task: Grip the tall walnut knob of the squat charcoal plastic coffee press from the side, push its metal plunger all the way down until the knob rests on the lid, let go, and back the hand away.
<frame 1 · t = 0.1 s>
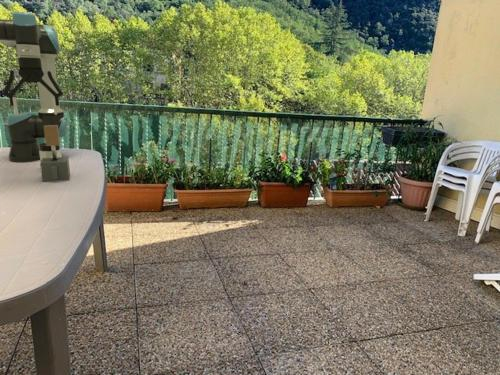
hand: (36, 114, 151), 28 cm above the table, tool pointing down, fingers open, 13 cm apart
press: (56, 177, 167), on the table
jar: (52, 169, 180), on the table
plunger: (52, 143, 162), point 15 cm above the table, slide at 6.5 cm
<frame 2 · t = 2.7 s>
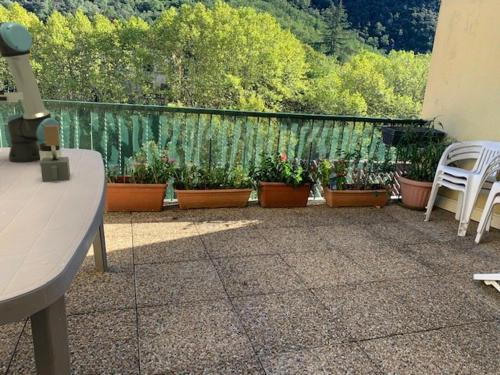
hand: (20, 97, 153), 34 cm above the table, tool horizontal, fingers open, 13 cm apart
nothing on the table moved.
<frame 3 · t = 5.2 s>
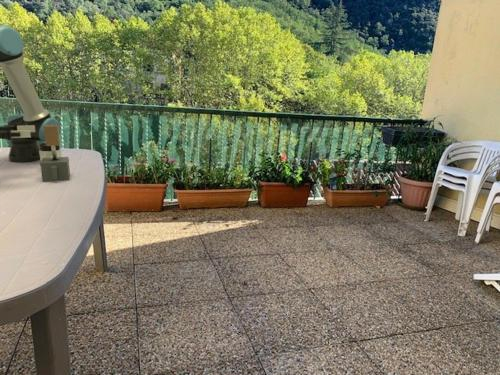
hand: (32, 131, 158), 20 cm above the table, tool horizontal, fingers open, 13 cm apart
nothing on the table moved.
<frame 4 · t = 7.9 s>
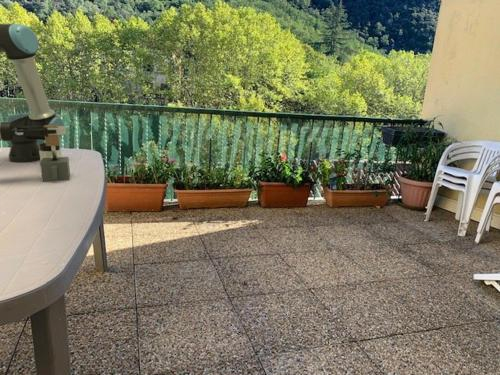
hand: (65, 130, 163), 20 cm above the table, tool horizontal, fingers closed on plunger, 4 cm apart
plunger: (52, 143, 162), point 15 cm above the table, slide at 6.5 cm, touching gripper
everything else where it was.
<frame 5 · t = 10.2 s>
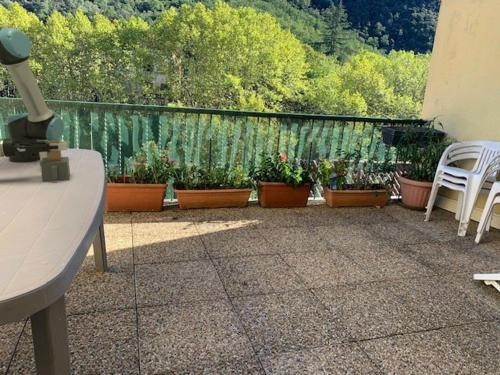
hand: (67, 145, 165), 14 cm above the table, tool horizontal, fingers closed on plunger, 4 cm apart
plunger: (54, 158, 164), point 9 cm above the table, slide at 0.0 cm, touching gripper, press
everything else where it was.
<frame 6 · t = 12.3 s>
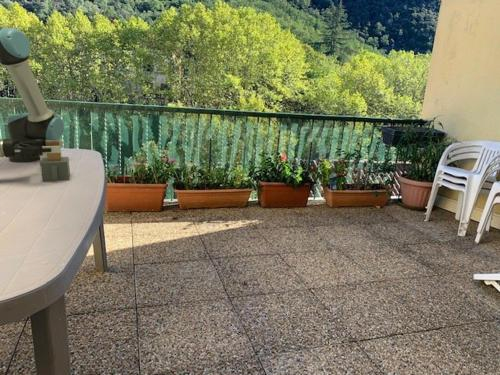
hand: (61, 146, 164), 14 cm above the table, tool horizontal, fingers open, 13 cm apart
plunger: (54, 158, 164), point 9 cm above the table, slide at 0.0 cm, touching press
everything else where it was.
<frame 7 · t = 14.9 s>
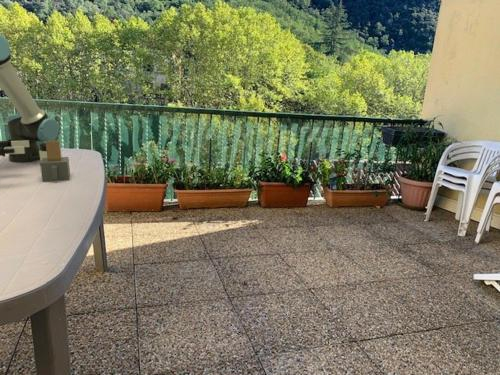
hand: (26, 146, 159), 14 cm above the table, tool horizontal, fingers open, 13 cm apart
nothing on the table moved.
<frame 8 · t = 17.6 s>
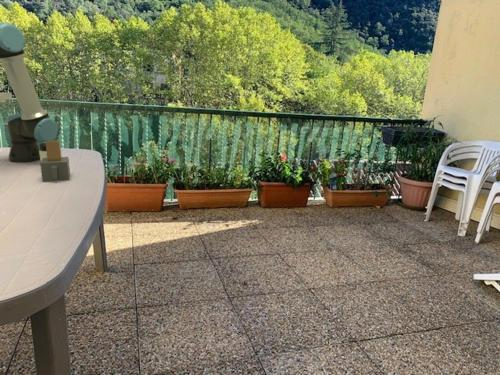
hand: (8, 97, 152), 34 cm above the table, tool horizontal, fingers open, 13 cm apart
nothing on the table moved.
at the end: plunger slide at 0.0 cm; the gripper is holding nothing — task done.
